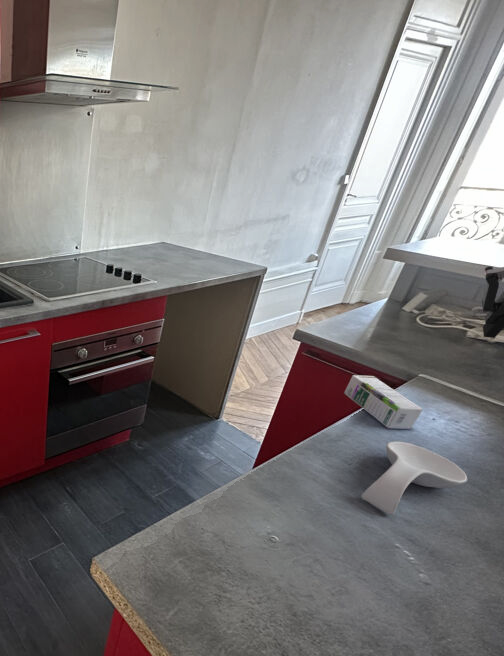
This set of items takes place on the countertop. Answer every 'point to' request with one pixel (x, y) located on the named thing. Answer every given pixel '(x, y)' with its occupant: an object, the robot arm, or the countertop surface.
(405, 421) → the syrup box
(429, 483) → the spoon rest
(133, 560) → the countertop surface
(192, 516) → the countertop surface
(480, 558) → the countertop surface
